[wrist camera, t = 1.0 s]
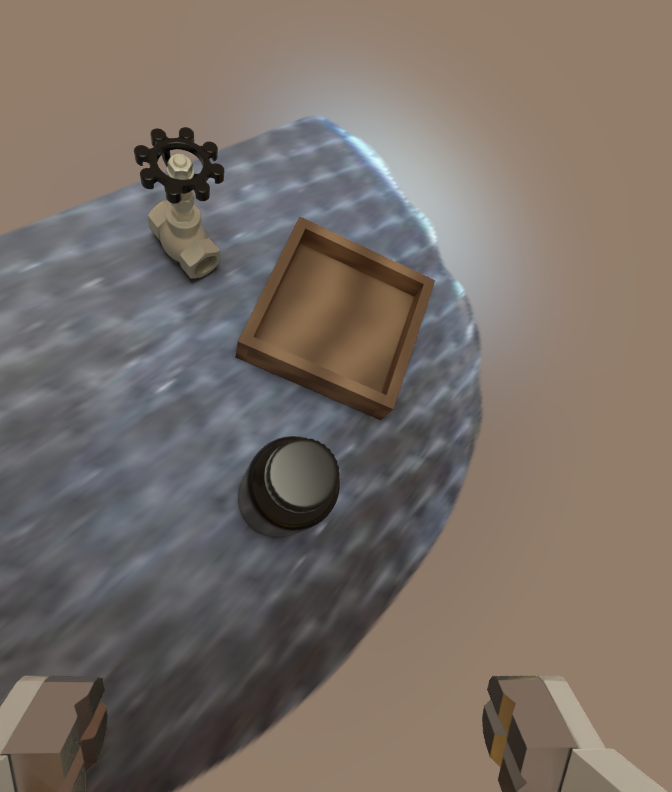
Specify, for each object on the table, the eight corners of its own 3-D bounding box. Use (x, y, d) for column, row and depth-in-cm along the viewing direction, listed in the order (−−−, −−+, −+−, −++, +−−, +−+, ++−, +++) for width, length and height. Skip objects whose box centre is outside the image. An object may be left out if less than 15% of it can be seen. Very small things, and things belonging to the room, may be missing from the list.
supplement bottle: (294, 552, 42) (327, 547, 31) (222, 515, 41) (229, 497, 30) (328, 480, 44) (369, 452, 33) (261, 444, 44) (280, 404, 33)
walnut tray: (235, 356, 46) (238, 341, 43) (293, 238, 52) (299, 216, 48) (380, 419, 48) (393, 409, 44) (421, 297, 53) (435, 280, 50)
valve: (193, 213, 50) (190, 113, 39) (233, 262, 49) (242, 174, 38) (135, 242, 47) (114, 143, 36) (176, 293, 47) (168, 210, 36)
